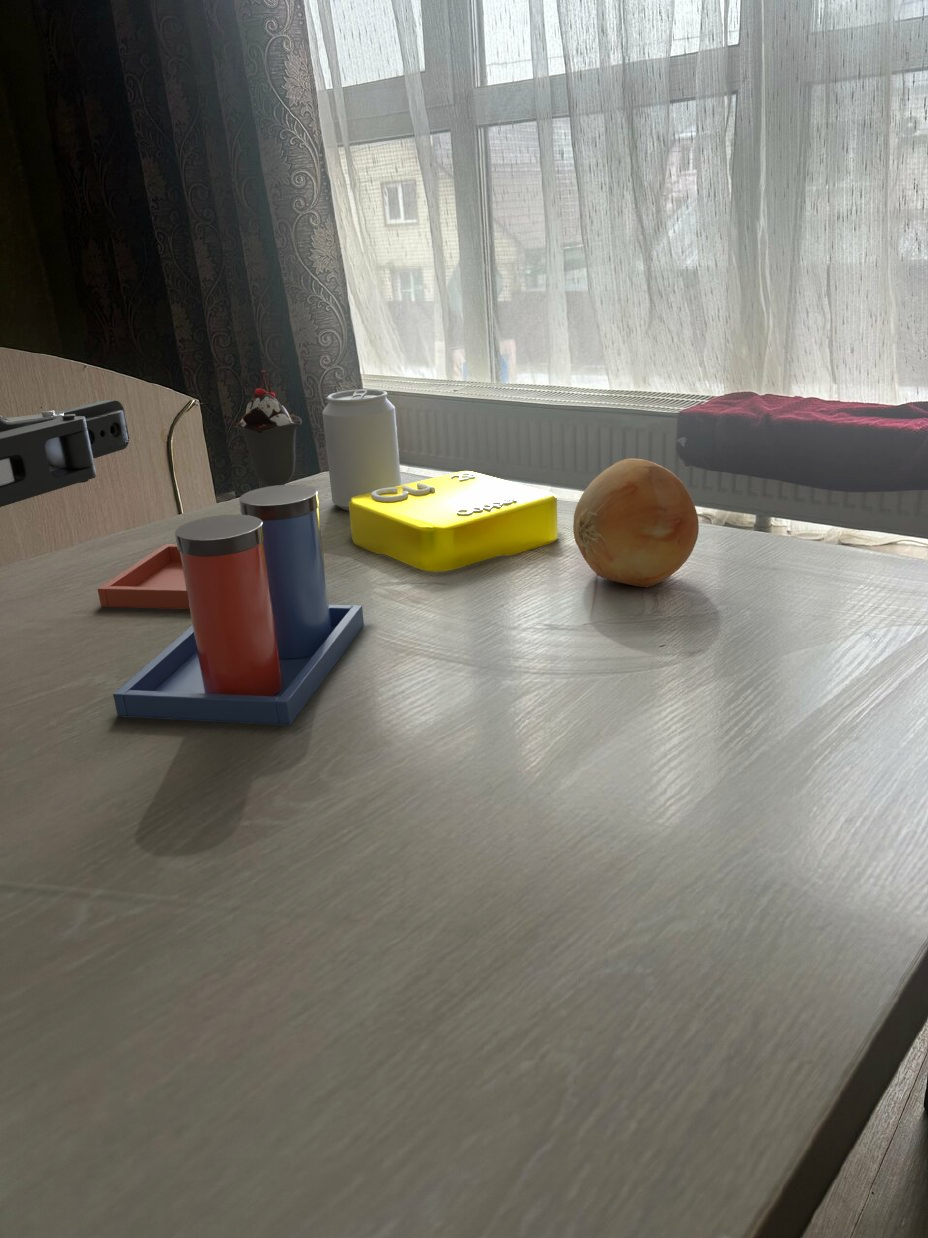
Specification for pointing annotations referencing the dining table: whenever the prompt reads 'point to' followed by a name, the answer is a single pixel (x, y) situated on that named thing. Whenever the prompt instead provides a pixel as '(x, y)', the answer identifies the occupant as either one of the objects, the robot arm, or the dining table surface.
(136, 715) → the blue tray
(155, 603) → the red tray
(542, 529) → the element tile
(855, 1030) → the dining table surface
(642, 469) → the onion
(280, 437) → the sundae
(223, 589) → the red jar
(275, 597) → the blue jar
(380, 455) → the can
